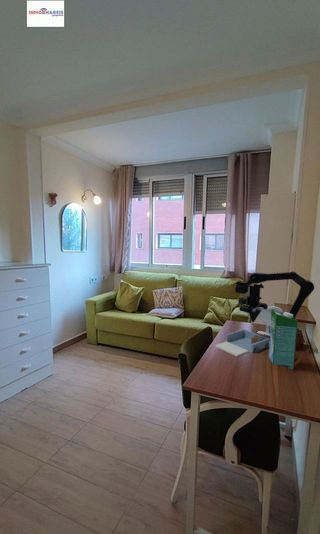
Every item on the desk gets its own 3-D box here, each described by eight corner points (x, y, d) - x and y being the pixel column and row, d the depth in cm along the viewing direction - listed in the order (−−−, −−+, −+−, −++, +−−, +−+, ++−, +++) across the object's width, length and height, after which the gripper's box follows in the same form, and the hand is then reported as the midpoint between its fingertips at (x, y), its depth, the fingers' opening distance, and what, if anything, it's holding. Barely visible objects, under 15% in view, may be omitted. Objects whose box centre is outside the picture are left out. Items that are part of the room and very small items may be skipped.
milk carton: (293, 369, 112) (298, 315, 110) (272, 367, 114) (276, 313, 112) (287, 360, 121) (291, 310, 119) (268, 358, 123) (271, 308, 120)
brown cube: (262, 345, 134) (263, 337, 134) (259, 348, 131) (259, 339, 131) (254, 343, 137) (255, 335, 137) (250, 345, 134) (251, 337, 134)
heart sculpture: (253, 332, 159) (255, 305, 157) (254, 330, 163) (256, 303, 161) (280, 337, 151) (282, 308, 149) (281, 335, 155) (283, 306, 154)
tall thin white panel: (248, 350, 126) (237, 355, 120) (248, 352, 126) (237, 357, 120) (226, 341, 137) (215, 345, 132) (226, 343, 137) (215, 347, 132)
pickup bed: (271, 349, 134) (272, 339, 133) (253, 356, 124) (254, 345, 124) (241, 337, 149) (242, 328, 149) (223, 343, 140) (224, 334, 139)
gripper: (251, 291, 152) (250, 316, 153) (232, 294, 141) (230, 320, 142) (268, 294, 143) (267, 320, 144) (249, 297, 132) (247, 326, 133)
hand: (252, 322), depth 141 cm, fingers closed
